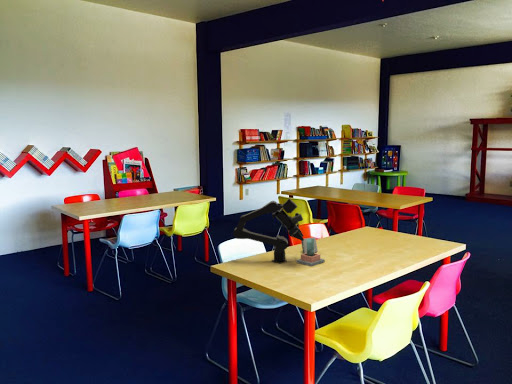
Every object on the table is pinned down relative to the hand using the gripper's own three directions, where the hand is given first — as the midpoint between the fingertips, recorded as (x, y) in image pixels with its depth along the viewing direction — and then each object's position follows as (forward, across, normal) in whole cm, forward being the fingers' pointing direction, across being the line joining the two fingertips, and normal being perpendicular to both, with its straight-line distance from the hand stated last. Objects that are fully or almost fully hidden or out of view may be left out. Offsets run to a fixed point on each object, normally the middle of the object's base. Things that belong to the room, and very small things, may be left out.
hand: (303, 238), depth 253 cm
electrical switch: (+13, +20, +7) cm, 25 cm away
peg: (+12, -1, +5) cm, 13 cm away
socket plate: (+13, -1, +6) cm, 14 cm away
